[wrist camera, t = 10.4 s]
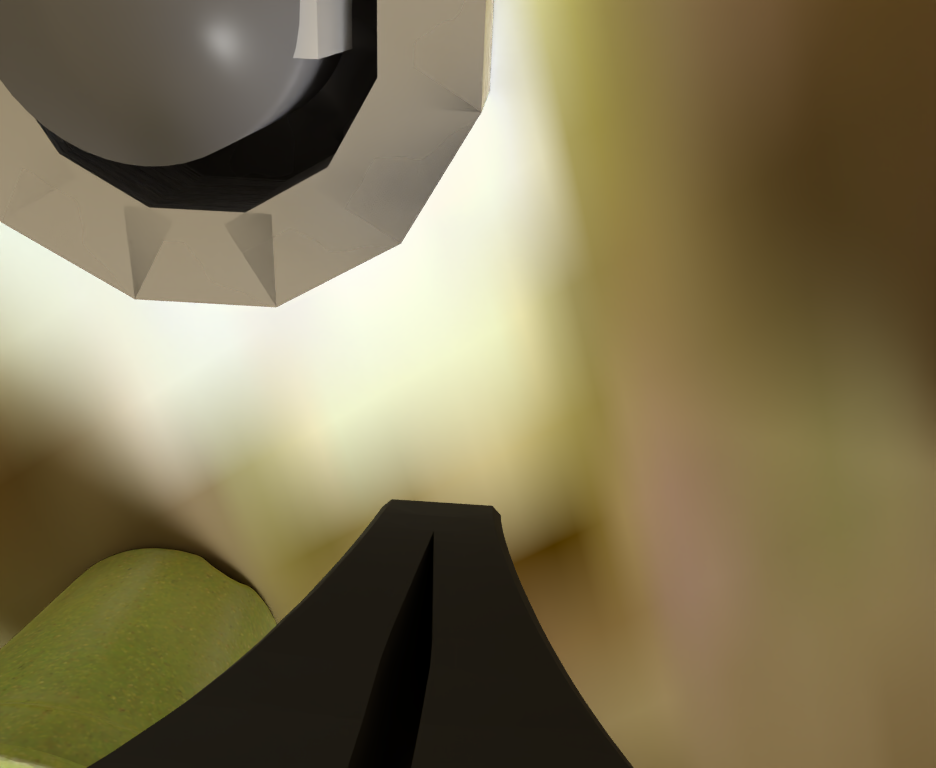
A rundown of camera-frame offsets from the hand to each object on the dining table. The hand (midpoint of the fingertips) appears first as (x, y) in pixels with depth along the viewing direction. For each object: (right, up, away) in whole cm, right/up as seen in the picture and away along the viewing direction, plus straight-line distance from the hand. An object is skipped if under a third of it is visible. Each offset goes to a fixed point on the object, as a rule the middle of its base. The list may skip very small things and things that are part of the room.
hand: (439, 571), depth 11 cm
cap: (-4, +10, +6) cm, 12 cm away
